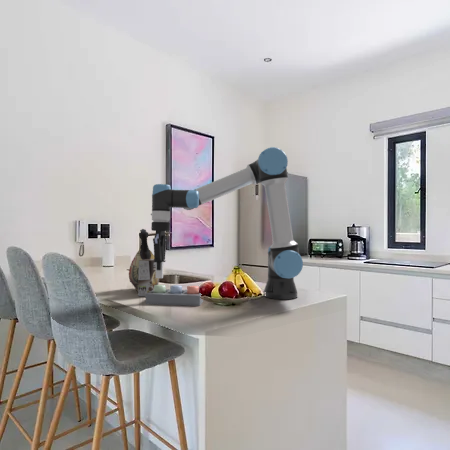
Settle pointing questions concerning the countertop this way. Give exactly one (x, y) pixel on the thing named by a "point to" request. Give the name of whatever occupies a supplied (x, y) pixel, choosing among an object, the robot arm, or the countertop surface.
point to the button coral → (192, 289)
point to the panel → (173, 298)
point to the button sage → (159, 288)
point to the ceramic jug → (141, 255)
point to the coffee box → (146, 276)
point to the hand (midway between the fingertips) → (159, 277)
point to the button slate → (176, 289)
